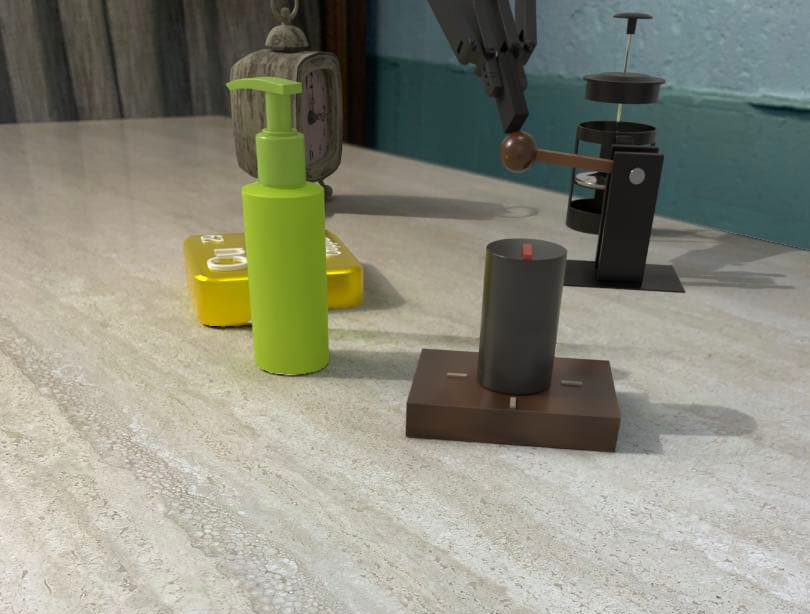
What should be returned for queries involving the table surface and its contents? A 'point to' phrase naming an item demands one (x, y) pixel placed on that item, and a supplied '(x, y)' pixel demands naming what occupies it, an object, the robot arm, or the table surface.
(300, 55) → the tabletop clock
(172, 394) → the table surface
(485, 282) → the knob
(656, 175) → the bracket
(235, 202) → the table surface
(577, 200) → the french press
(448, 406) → the panel
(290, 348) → the soap dispenser
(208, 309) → the element tile
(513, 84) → the robot arm
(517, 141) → the lever
